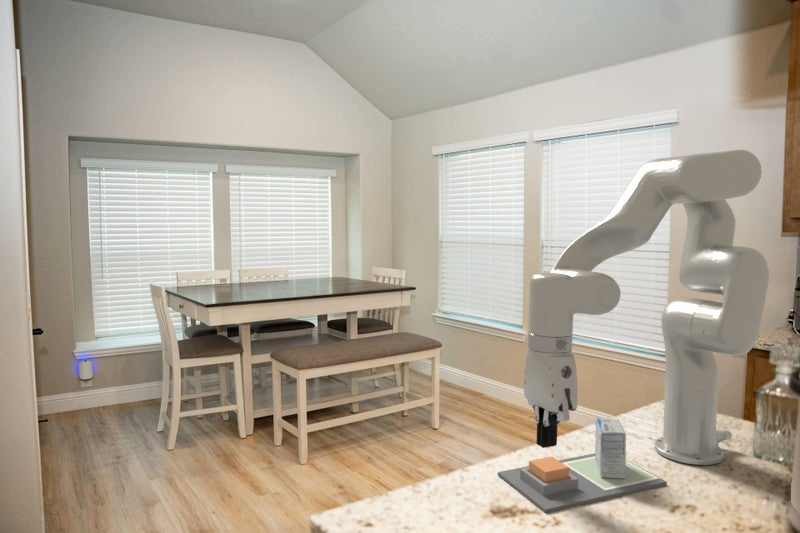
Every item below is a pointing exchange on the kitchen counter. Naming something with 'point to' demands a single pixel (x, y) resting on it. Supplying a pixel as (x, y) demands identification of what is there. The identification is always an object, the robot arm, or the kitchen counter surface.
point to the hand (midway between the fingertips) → (546, 445)
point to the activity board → (579, 484)
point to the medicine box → (610, 448)
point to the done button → (548, 469)
